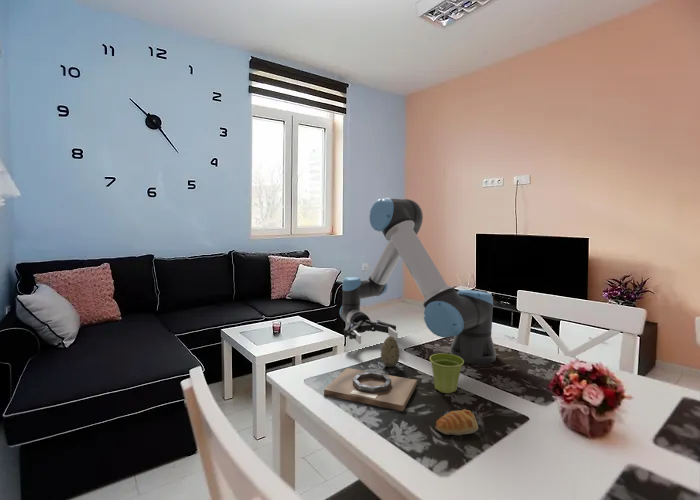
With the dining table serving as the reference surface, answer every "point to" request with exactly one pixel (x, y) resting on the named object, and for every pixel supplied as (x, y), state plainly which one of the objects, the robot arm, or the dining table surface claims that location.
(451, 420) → the pastry
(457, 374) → the plant pot
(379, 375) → the ring socket
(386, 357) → the decorative egg
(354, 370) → the walnut board
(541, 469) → the dining table surface
